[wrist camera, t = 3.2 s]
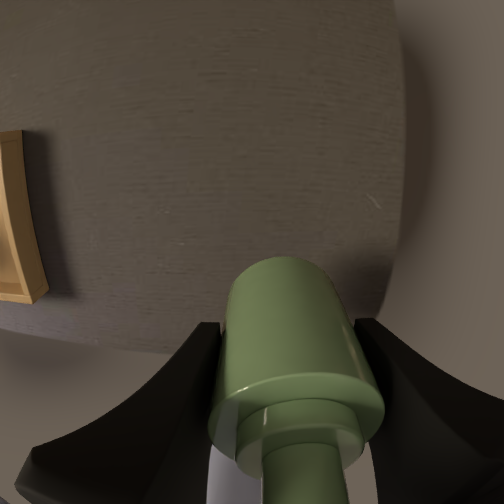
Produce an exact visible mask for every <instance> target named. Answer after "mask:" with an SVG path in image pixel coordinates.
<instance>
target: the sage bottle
mask: <svg viewBox="0 0 504 504" xmlns="http://www.w3.org/2000/svg"><path fill="white" fill-rule="evenodd" d="M384 414H385V403H384V400H383V397H382V394H381V392H380V389H379V387H378V384H377V382H376V379H375V377H374V374H373V372H372V370H371V367H370V365H369V362H368V360H367V358H366V355H365V353H364V351H363V348H362V346H361V344H360V341H359V339H358V337H357V334H356V332H355V330H354V328H353V325H352V323H351V321H350V319H349V316H348V314H347V312H346V310H345V308H344V305H343V303H342V301H341V299H340V297H339V295H338V292H337V290H336V288H335V286H334V284H333V282H332V280H331V279H330V277H329V276H328V275H327V274H326V273H325V271H323V270H322V269H321V268H320V267H318V266H317V265H315V264H314V263H311V262H309V261H307V260H304V259H301V258H295V257H274V258H269V259H266V260H263V261H260V262H258V263H256V264H254V265H252V266H251V267H249V268H247V269H246V270H245V271H244V272H243V273H241V274H240V276H239V277H238V278H237V279H236V280H235V282H234V283H233V285H232V287H231V289H230V291H229V294H228V298H227V304H226V310H225V316H224V322H223V328H222V334H221V340H220V346H219V352H218V358H217V364H216V370H215V376H214V383H213V389H212V395H211V402H210V408H209V415H208V421H207V433H208V435H209V438H210V440H211V442H212V444H213V445H214V446H215V447H216V448H217V450H218V451H220V452H221V453H222V454H223V455H225V456H226V457H228V458H230V459H231V460H234V461H235V463H236V465H237V467H238V468H239V469H240V470H241V471H242V472H243V473H244V474H246V475H248V476H249V477H252V478H254V479H257V480H260V481H261V504H350V501H349V495H348V490H347V485H346V479H345V474H344V469H346V468H347V467H349V466H350V465H352V464H353V463H354V462H355V461H356V460H357V459H358V458H359V457H360V456H361V454H362V453H363V450H364V447H365V443H367V442H368V441H369V440H370V439H371V438H372V437H373V436H374V435H375V433H376V432H377V431H378V429H379V427H380V426H381V424H382V421H383V419H384Z"/></svg>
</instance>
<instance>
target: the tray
mask: <svg viewBox="0 0 504 504" xmlns="http://www.w3.org/2000/svg"><path fill="white" fill-rule="evenodd" d="M48 290H49V286H48V283H47V280H46V276H45V273H44V269H43V265H42V261H41V258H40V254H39V249H38V245H37V241H36V236H35V232H34V227H33V222H32V216H31V211H30V205H29V199H28V192H27V185H26V177H25V168H24V157H23V144H22V130H15V131H7V132H0V300H4V301H11V302H19V303H27V304H34V303H35V302H36V301H37V300H38V299H39V298H40V297H41V296H42V295H44V294H45V293H46V292H47V291H48Z"/></svg>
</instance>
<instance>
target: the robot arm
mask: <svg viewBox="0 0 504 504" xmlns="http://www.w3.org/2000/svg"><path fill="white" fill-rule="evenodd" d="M354 330H355V332H356V334H357V337H358V339H359V341H360V344H361V346H362V348H363V351H364V353H365V355H366V358H367V360H368V362H369V365H370V367H371V370H372V372H373V374H374V377H375V379H376V382H377V384H378V387H379V389H380V392H381V394H382V397H383V400H384V403H385V414H384V419H383V421H382V424H381V426H380V427H379V429H378V431H377V432H376V433H375V435H374V436H373V437H372V438H371V439H370V440H369V441H368V442H369V446H370V449H371V454H372V460H373V466H374V472H375V479H376V487H377V495H378V504H504V400H502V399H499V398H497V397H494V396H491V395H489V394H487V393H484V392H482V391H480V390H478V389H475V388H473V387H471V386H469V385H467V384H465V383H463V382H461V381H460V380H458V379H456V378H454V377H453V376H451V375H449V374H448V373H446V372H444V371H443V370H441V369H439V368H438V367H437V366H435V365H434V364H432V363H431V362H429V361H428V360H426V359H425V358H424V357H422V356H421V355H420V354H418V353H417V352H416V351H414V350H413V349H412V348H410V347H409V346H408V345H407V344H405V343H404V342H403V341H402V340H400V339H399V338H398V337H397V336H395V335H394V334H393V333H392V332H390V331H389V330H388V329H387V328H385V327H384V326H383V325H381V324H380V323H379V322H378V321H376V320H375V319H374V318H360V319H355V324H354ZM220 340H221V333H220V323H219V322H201V323H200V324H198V326H197V327H196V328H195V329H194V331H193V332H192V333H191V335H190V336H189V337H188V338H187V340H186V341H185V342H184V343H183V344H182V346H181V347H180V348H179V349H178V350H177V352H176V353H175V354H174V355H173V356H172V357H171V358H170V359H169V361H168V362H167V363H166V364H165V365H164V366H163V367H162V368H161V369H160V370H159V371H158V372H157V373H156V374H155V375H154V376H153V377H152V378H151V379H150V380H149V381H148V382H147V383H146V384H144V386H142V387H141V388H140V389H139V390H138V391H136V392H135V393H134V394H133V395H132V396H130V397H129V398H128V399H127V400H125V401H124V402H122V403H121V404H120V405H118V406H117V407H115V408H114V409H112V410H111V411H109V412H108V413H106V414H105V415H103V416H102V417H100V418H98V419H97V420H95V421H93V422H91V423H89V424H88V425H86V426H84V427H82V428H80V429H78V430H76V431H74V432H72V433H69V434H67V435H65V436H63V437H60V438H58V439H55V440H52V441H50V442H47V443H44V444H42V445H39V446H36V447H33V448H32V450H31V452H30V454H29V456H28V457H27V459H26V461H25V463H24V465H23V467H22V469H21V471H20V473H19V475H18V478H17V479H16V482H15V484H14V485H15V488H16V490H17V491H18V492H19V494H20V495H22V496H23V497H24V498H25V499H26V500H28V501H29V502H30V503H32V504H261V481H260V480H257V479H254V478H252V477H249V476H248V475H246V474H244V473H243V472H242V471H241V470H240V469H239V468H238V467H237V465H236V463H235V461H234V460H231V459H230V458H228V457H226V456H225V455H223V454H222V453H221V452H220V451H218V450H217V448H216V447H215V446H214V445H213V444H212V442H211V440H210V438H209V435H208V433H207V421H208V415H209V408H210V402H211V395H212V389H213V383H214V376H215V370H216V364H217V358H218V352H219V346H220ZM0 504H9V503H8V502H7V501H6V500H4V499H3V498H1V497H0Z"/></svg>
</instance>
